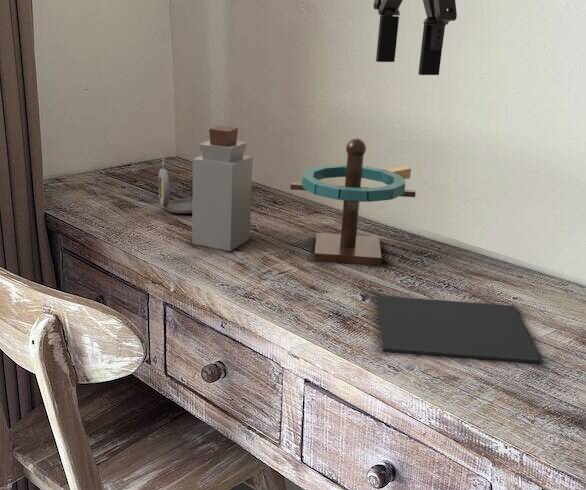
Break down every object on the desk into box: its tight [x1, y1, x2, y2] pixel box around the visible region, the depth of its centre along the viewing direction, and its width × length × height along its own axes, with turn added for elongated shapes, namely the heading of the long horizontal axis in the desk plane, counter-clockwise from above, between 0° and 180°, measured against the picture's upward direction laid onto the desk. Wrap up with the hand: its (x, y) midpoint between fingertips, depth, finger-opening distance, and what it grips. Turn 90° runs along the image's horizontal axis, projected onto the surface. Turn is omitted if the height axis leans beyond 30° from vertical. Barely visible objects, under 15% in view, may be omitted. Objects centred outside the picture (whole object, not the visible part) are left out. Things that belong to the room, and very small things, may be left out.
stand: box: [289, 137, 417, 266], centre depth 124 cm, size 19×19×18 cm
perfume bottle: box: [191, 125, 253, 252], centre depth 126 cm, size 7×7×18 cm
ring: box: [301, 164, 412, 203], centre depth 123 cm, size 17×17×2 cm
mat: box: [377, 295, 541, 364], centre depth 102 cm, size 18×16×1 cm
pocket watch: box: [157, 154, 193, 215], centre depth 142 cm, size 8×8×10 cm
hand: (405, 68), depth 116 cm, fingers open, 13 cm apart
